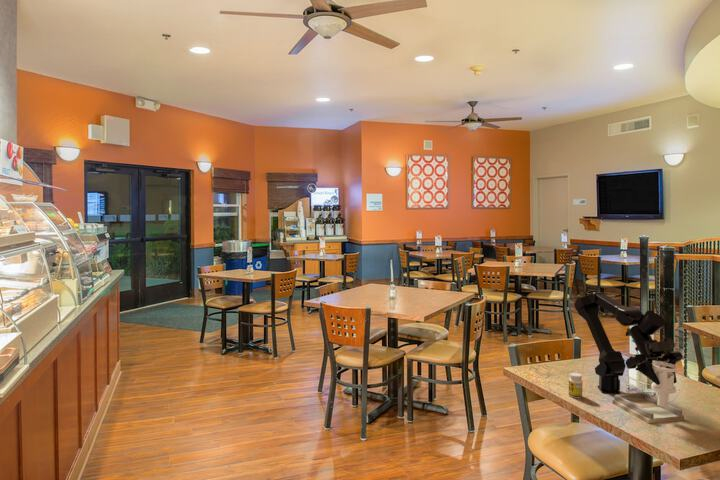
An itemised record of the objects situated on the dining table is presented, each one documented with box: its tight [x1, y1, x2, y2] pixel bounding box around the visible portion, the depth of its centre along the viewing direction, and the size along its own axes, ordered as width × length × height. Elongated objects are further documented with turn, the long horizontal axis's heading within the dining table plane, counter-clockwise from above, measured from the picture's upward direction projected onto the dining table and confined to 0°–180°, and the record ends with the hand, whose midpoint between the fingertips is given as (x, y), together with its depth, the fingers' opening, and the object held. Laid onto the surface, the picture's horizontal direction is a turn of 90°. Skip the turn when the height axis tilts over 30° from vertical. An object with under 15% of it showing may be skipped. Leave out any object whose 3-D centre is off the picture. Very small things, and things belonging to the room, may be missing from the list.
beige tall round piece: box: [651, 360, 678, 407], centre depth 165 cm, size 7×7×15 cm
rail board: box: [611, 391, 685, 424], centre depth 173 cm, size 17×14×3 cm
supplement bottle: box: [568, 372, 583, 399], centre depth 186 cm, size 5×5×8 cm
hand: (667, 383), depth 164 cm, fingers closed on beige tall round piece, 6 cm apart
